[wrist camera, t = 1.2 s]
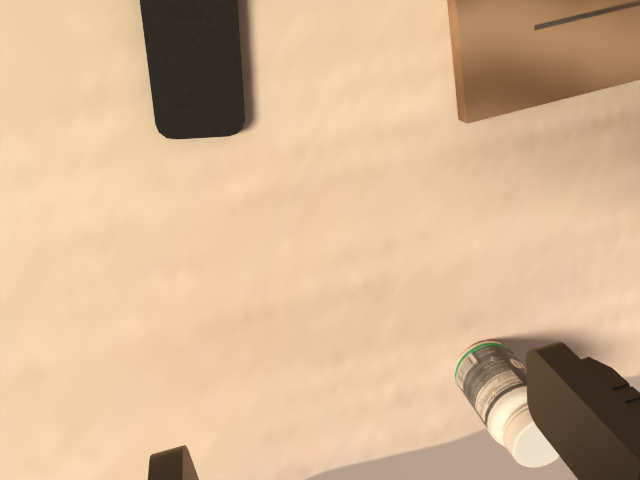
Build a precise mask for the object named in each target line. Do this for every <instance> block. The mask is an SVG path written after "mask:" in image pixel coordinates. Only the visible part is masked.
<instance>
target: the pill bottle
mask: <svg viewBox="0 0 640 480" xmlns="http://www.w3.org/2000/svg"><path fill="white" fill-rule="evenodd" d="M454 378H455V382H456V384H457V386H458V387H459V388H460V390H461V391H462V393H463V395H464V396H465V398H466V399H467V401H468V402H469V403H470V405H471V406H472V408H473V409H474V411H475V412H476V414H477V415H478V417H479V418H480V420H481V421H482V422H483V424H484V425H485V427H486V428H487V430H488V431H489V433H490V434H491V436H492V437H493V438H494V440H496V441H497V442H498V443H499V444H501V445H503V446H505V447H506V448H507V449H508V451H509V452H510V453H511V454H512V456H513V457H514V459H515V460H516V461H517V462H518V463H519V464H521V465H523V466H526V467H540V466H544V465H547V464H549V463H551V462H553V461H554V460H556V459H557V458H558V457H559V454H558V453H557V452H556V451H555V449H554V448H553V447H552V446H551V444H550V443H549V442H548V440H547V439H546V438H545V437H544V435H543V434H542V433H541V432H540V430H539V429H538V428H537V426H536V425H535V423H534V421H533V419H532V417H531V415H530V412H529V409H528V404H527V368H526V367H525V366H524V365H523V364H522V363H521V362H520V361H519V360H518V358H517V357H516V356H515V355H514V354H513V353H512V352H511V351H510V350H509V349H508V348H507V347H506V346H505V345H503V344H502V343H499V342H496V341H484V342H480V343H477V344H474V345H472V346H471V347H469V348H468V349H466V350H465V351H464V352H463V353H462V354H461V356H460V357H459V358H458V360H457V363H456V365H455V368H454Z"/></svg>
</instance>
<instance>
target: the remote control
mask: <svg viewBox="0 0 640 480" xmlns="http://www.w3.org/2000/svg"><path fill="white" fill-rule="evenodd" d="M140 5H141V13H142V21H143V29H144V37H145V45H146V53H147V61H148V69H149V77H150V85H151V92H152V100H153V108H154V116H155V124H156V126H157V129H158V131H159V133H161V134H162V135H163V136H165V137H166V138H170V139H191V138H208V137H225V136H231V135H234V134H237V133H238V132H239V131H240V130H241V129H242V128H243V125H244V120H245V116H244V101H243V86H242V70H241V55H240V39H239V23H238V8H237V0H140Z"/></svg>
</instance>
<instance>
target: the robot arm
mask: <svg viewBox="0 0 640 480" xmlns="http://www.w3.org/2000/svg"><path fill="white" fill-rule="evenodd" d="M526 362H527V404H528V409H529V412H530V415H531V417H532V419H533V421H534V423H535V425H536V426H537V428H538V429H539V430H540V432H541V433H542V434H543V435H544V437H545V438H546V439H547V440H548V442H549V443H550V444H551V446H552V447H553V448H554V449H555V451H556V452H557V453H558V454H559V456H560V457H561V458H562V459H563V461H564V462H565V463H566V465H567V466H568V467H569V468H570V470H571V471H572V472H573V473H574V475H575V476H576V477H577V479H578V480H640V393H639V392H638V391H637V390H636V389H635V388H634V387H630V385H629V383H628V382H627V381H626V380H625V379H624V378H623V377H621V376H620V375H619V374H618V373H617V372H616V371H615V370H614V369H613V368H611V367H609V366H607V365H605V364H602V363H600V362H598V361H596V360H594V359H592V358H590V357H588V358H585V359H580V358H579V357H578V356H577V355H576V354H575V353H573V352H572V351H571V350H570V349H569V348H568V347H567V346H566V345H565V344H563V343H561V342H557V343H553V344H550V345H546V346H543V347H539V348H535V349H532V350H529V351H528V353H527V358H526ZM148 480H199V479H198V476H197V473H196V470H195V467H194V465H193V462H192V459H191V456H190V454H189V451H188V449H187V447H186V446H185V445H184V446H180V447H177V448H173V449H169V450H166V451H162V452H159V453H155V454H152V455H151V456H150V461H149V473H148Z"/></svg>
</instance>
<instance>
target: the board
mask: <svg viewBox="0 0 640 480" xmlns="http://www.w3.org/2000/svg"><path fill="white" fill-rule="evenodd" d="M448 11H449V22H450V32H451V43H452V54H453V64H454V75H455V86H456V96H457V107H458V118H459V120H461V121H463V122H465V123H471V122H475V121H479V120H483V119H487V118H491V117H494V116H498V115H502V114H506V113H510V112H514V111H518V110H522V109H526V108H530V107H534V106H538V105H542V104H546V103H550V102H553V101H557V100H561V99H565V98H569V97H573V96H577V95H581V94H585V93H589V92H593V91H597V90H601V89H605V88H609V87H613V86H616V85H620V84H624V83H628V82H632V81H636V80H640V0H448Z"/></svg>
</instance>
